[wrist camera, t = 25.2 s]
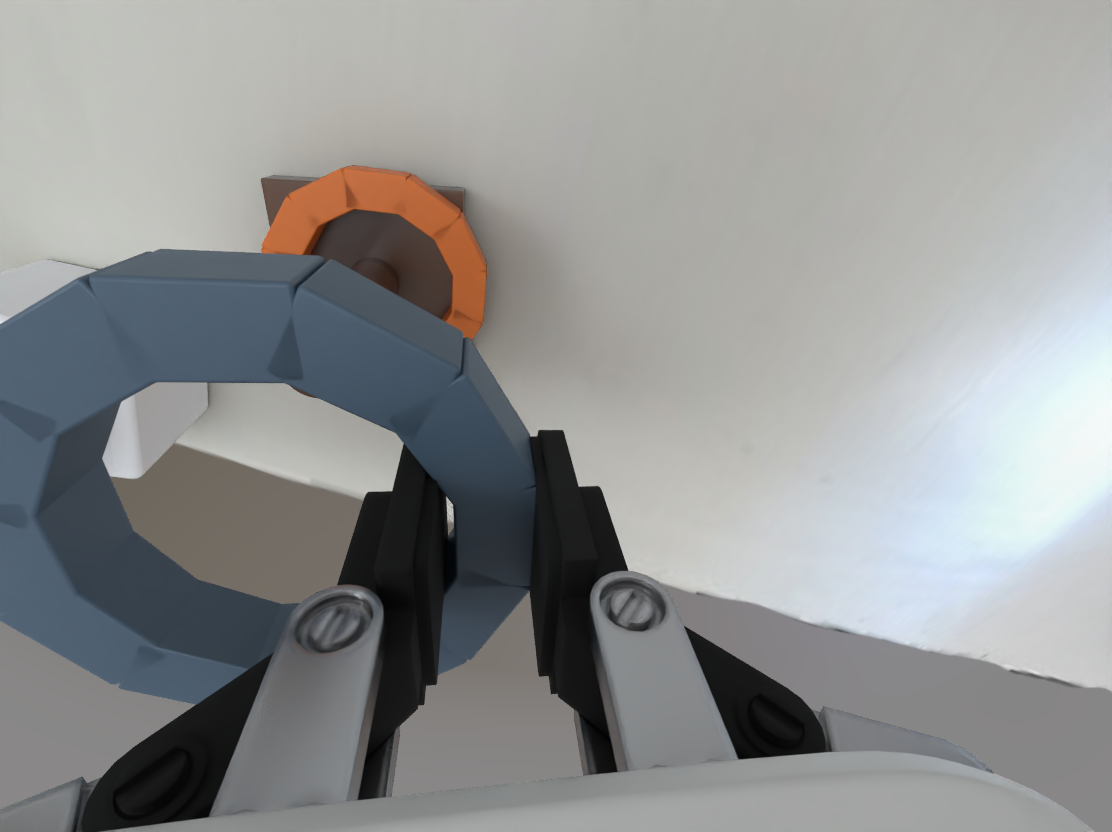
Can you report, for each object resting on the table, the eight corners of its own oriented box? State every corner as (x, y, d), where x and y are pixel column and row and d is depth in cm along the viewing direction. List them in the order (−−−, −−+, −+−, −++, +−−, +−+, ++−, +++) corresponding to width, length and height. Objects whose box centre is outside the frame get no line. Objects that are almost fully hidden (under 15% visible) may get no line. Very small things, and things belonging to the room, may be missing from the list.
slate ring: (541, 263, 9) (553, 291, 8) (520, 630, 14) (526, 693, 13) (-110, 236, 8) (-258, 264, 6) (118, 656, 13) (66, 731, 11)
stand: (464, 187, 25) (451, 230, 15) (467, 354, 30) (458, 476, 20) (272, 174, 24) (115, 212, 14) (304, 351, 29) (203, 479, 18)
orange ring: (492, 183, 24) (492, 187, 23) (479, 374, 29) (478, 389, 27) (263, 153, 22) (247, 155, 21) (290, 361, 27) (278, 376, 26)
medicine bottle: (41, 255, 25) (-277, 350, 14) (206, 291, 26) (27, 398, 16) (65, 385, 28) (-181, 538, 18) (211, 408, 30) (64, 561, 19)
